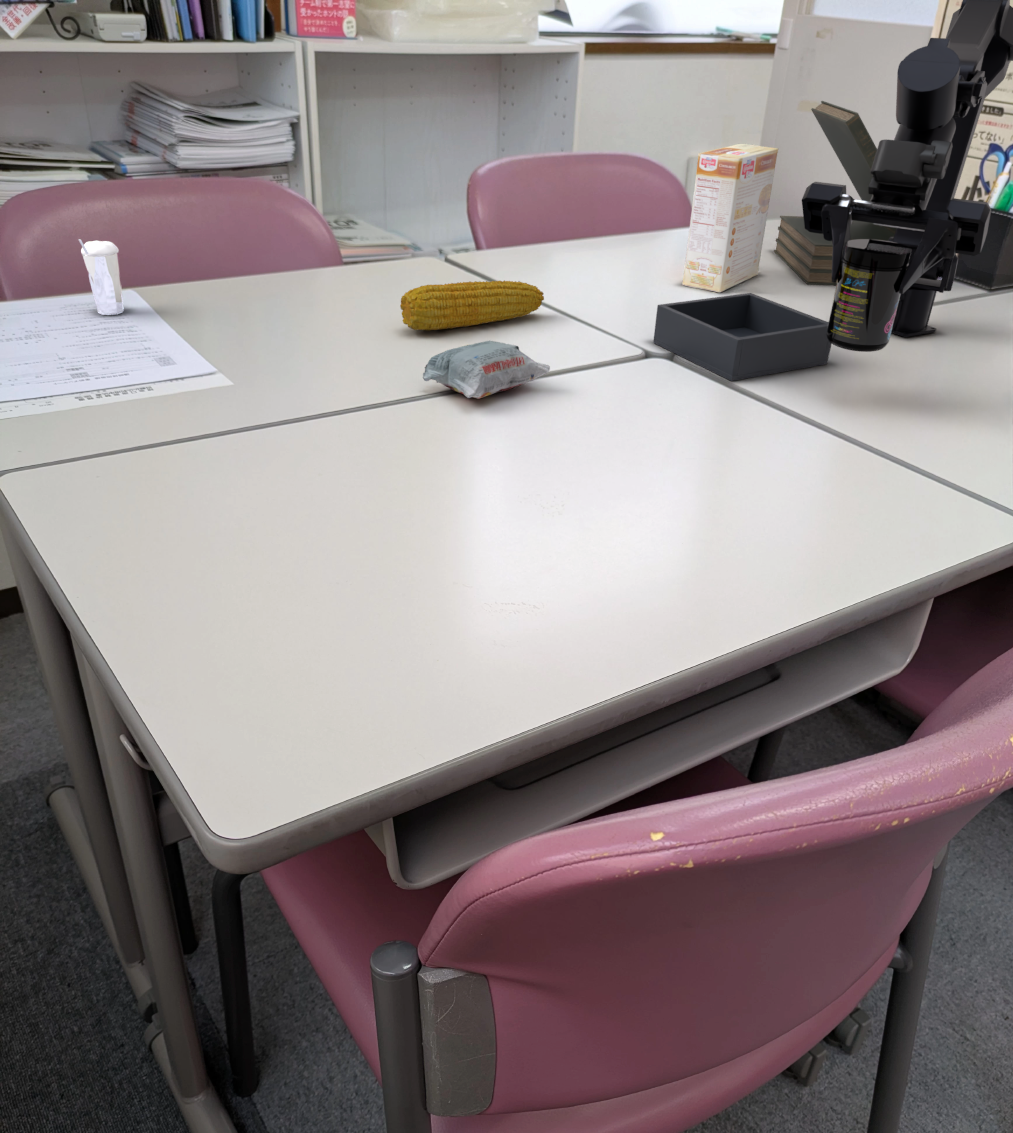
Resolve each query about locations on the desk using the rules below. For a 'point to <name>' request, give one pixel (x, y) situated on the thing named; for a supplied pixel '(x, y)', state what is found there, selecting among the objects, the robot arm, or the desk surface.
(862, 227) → the stack of books
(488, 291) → the food
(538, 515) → the desk surface
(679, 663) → the desk surface
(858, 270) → the supplement container
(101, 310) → the milkshake
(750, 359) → the square tray
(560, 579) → the desk surface
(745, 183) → the coffeecake box
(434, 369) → the packaged food
